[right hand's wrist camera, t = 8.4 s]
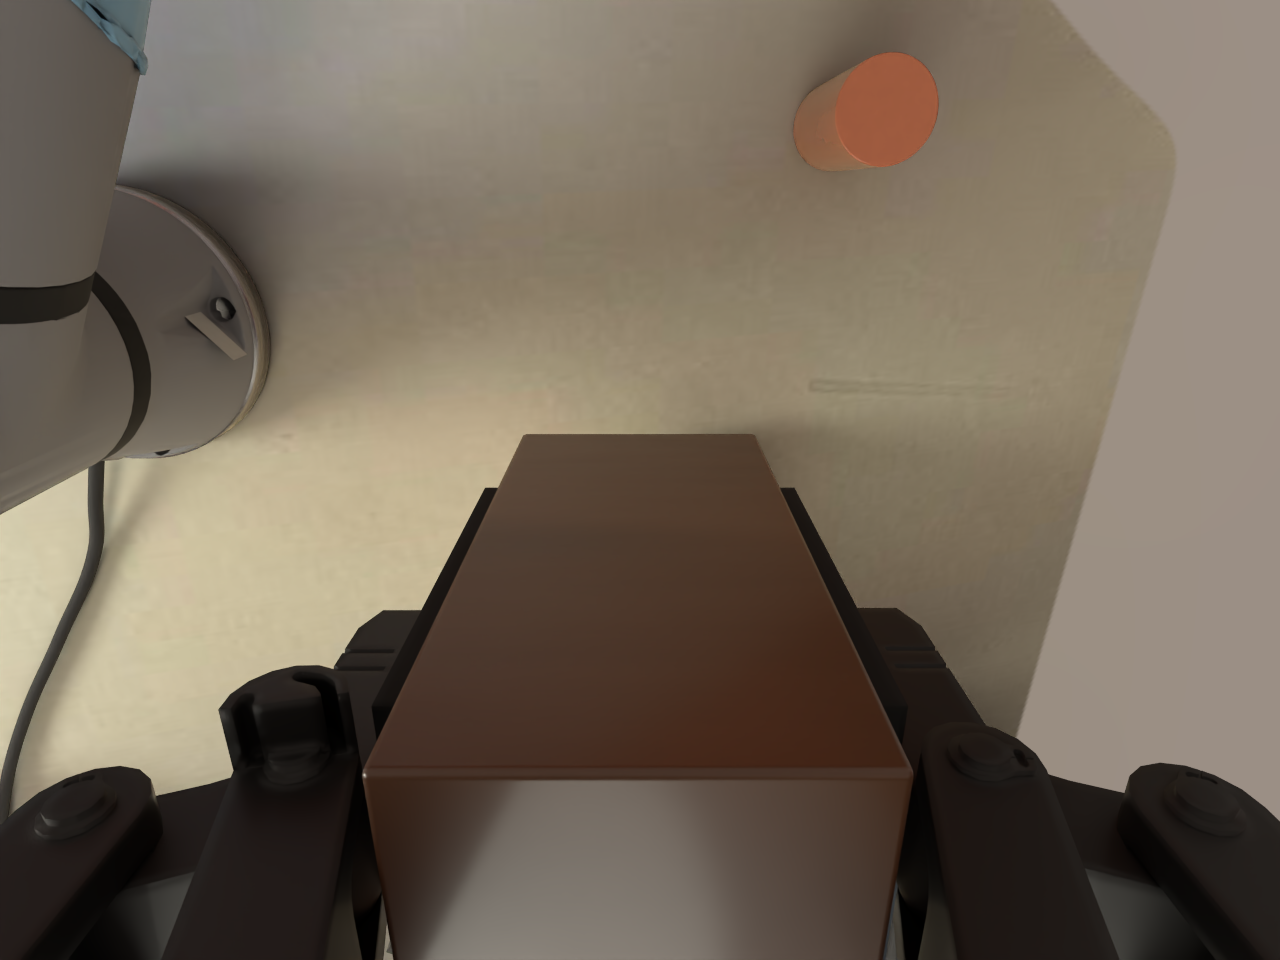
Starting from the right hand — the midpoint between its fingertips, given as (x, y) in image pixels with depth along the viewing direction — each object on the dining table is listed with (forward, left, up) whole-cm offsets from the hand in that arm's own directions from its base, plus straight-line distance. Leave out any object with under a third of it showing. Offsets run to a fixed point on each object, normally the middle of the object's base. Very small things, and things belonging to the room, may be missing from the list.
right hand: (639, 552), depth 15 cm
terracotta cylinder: (+14, -3, -31) cm, 34 cm away
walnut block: (0, 0, 0) cm, 0 cm away
